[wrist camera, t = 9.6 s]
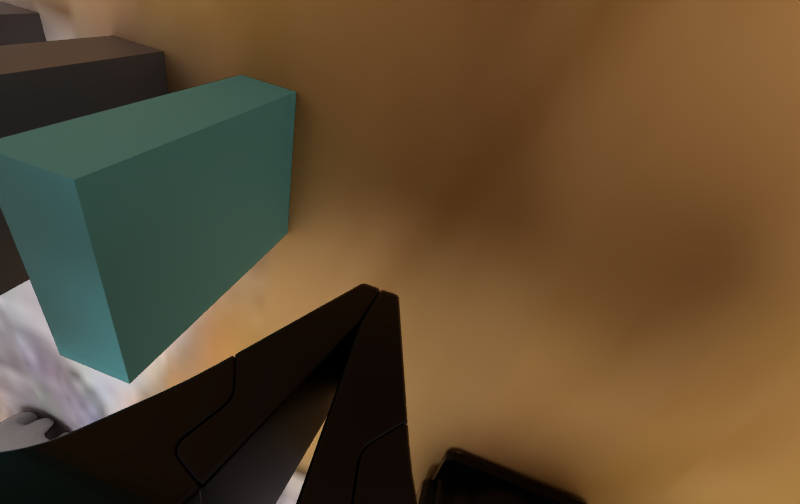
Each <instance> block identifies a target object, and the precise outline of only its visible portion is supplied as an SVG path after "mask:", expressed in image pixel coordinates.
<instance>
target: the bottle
mask: <svg viewBox="0 0 800 504" xmlns="http://www.w3.org/2000/svg"><path fill="white" fill-rule="evenodd" d="M36 419H37V415H36V414H35V413H32V412H23V413H18V414H16V415H14V416H11V417H9V418H7V419H6V420H4V421H2V422H0V452H2V451H9V450H15V449H20V448H24V447H29V446H32V445H36V444H40V443H43V442H46V441H49V440H48V439H47V438H46V437H45V433H46V432H47V431H48V430H49V429H50V427H51V426H52V425H53V423H54V421H53V420H51V419H50V418H42V419H39V420H37V421H35V420H36ZM34 421H35V422H34ZM68 433H69V432H64V433H62V434H61V435H60V436H59V437H61V436H63V435H66V434H68ZM57 438H58V437H57Z"/></svg>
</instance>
